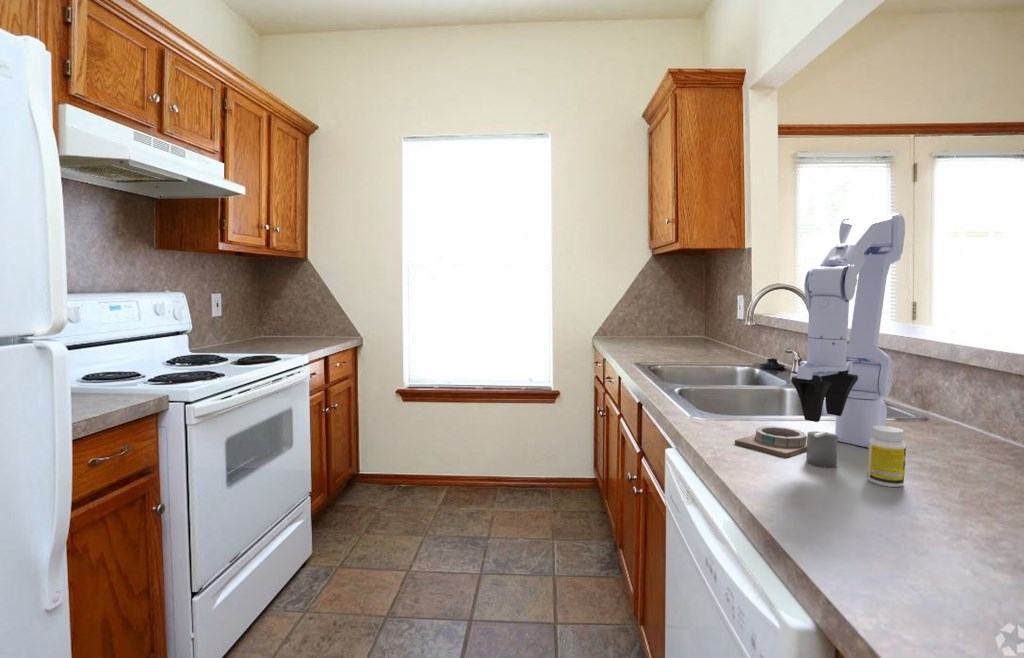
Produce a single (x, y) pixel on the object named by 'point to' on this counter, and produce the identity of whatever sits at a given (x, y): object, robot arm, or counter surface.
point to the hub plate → (770, 447)
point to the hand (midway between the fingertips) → (823, 417)
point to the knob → (822, 449)
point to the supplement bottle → (886, 456)
